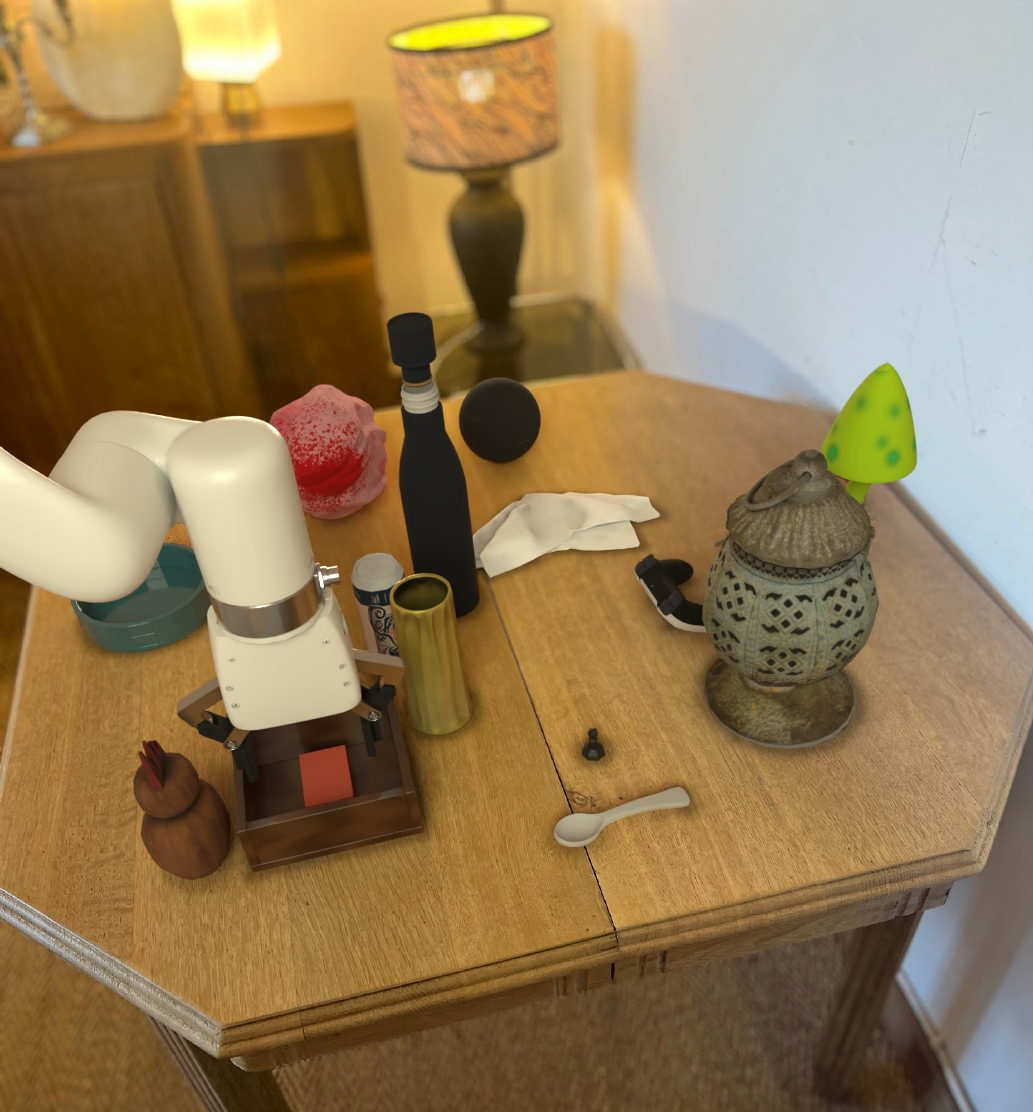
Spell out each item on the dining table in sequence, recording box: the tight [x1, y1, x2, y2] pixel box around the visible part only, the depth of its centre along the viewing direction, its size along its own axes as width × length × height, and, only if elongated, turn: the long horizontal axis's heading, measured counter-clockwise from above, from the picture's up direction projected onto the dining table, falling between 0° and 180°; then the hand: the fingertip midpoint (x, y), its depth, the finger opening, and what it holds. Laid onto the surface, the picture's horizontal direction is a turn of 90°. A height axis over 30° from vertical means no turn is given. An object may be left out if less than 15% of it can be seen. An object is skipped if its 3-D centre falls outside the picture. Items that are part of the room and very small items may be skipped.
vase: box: [390, 573, 474, 736], centre depth 86 cm, size 6×6×14 cm
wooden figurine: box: [132, 739, 231, 881], centre depth 75 cm, size 7×6×15 cm
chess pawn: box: [581, 727, 606, 762], centre depth 85 cm, size 2×2×3 cm
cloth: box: [472, 491, 661, 579], centre depth 110 cm, size 26×14×2 cm, turn 102°
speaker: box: [458, 377, 542, 464], centre depth 119 cm, size 10×10×10 cm
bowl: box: [70, 542, 212, 653], centre depth 104 cm, size 14×14×4 cm
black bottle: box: [386, 311, 481, 619], centre depth 92 cm, size 6×6×30 cm
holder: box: [231, 697, 425, 873], centre depth 82 cm, size 14×12×5 cm
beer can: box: [350, 552, 406, 657], centre depth 92 cm, size 5×5×12 cm
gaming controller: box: [633, 553, 707, 634], centre depth 98 cm, size 11×4×7 cm
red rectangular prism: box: [299, 745, 356, 809], centre depth 83 cm, size 6×4×2 cm, turn 14°
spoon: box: [553, 786, 691, 848], centre depth 80 cm, size 3×12×2 cm, turn 111°
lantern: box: [702, 449, 880, 750], centre depth 81 cm, size 14×14×25 cm
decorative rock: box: [268, 383, 389, 520], centre depth 112 cm, size 19×14×15 cm
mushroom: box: [819, 362, 918, 506], centre depth 91 cm, size 8×8×25 cm
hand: (312, 757), depth 80 cm, fingers open, 9 cm apart
